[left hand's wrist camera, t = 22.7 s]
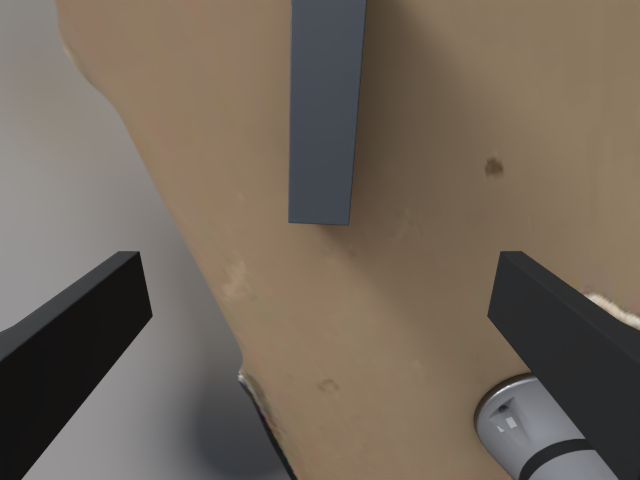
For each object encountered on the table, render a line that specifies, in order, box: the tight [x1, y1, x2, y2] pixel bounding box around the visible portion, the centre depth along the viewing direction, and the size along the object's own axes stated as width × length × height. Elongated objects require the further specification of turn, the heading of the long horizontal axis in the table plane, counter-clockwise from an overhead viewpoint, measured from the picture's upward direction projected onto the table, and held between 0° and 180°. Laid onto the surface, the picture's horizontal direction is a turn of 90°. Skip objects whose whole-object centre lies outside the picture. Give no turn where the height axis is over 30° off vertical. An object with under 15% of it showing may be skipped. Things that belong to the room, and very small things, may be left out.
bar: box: [288, 0, 367, 225], centre depth 30 cm, size 23×5×8 cm, turn 177°
